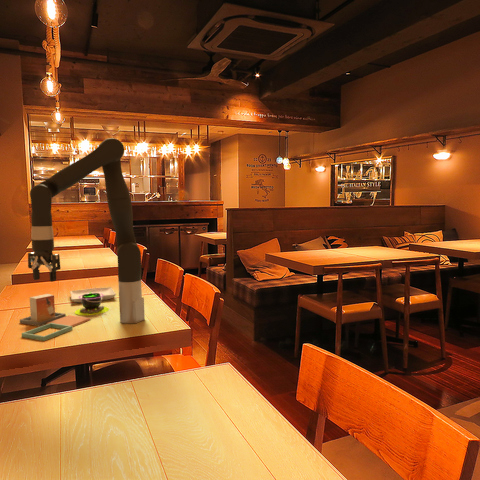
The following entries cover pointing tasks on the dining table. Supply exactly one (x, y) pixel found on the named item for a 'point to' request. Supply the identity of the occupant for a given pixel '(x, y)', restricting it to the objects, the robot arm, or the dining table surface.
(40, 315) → the small box
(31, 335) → the green rectangular frame
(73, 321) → the terracotta tile
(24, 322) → the grey rectangular frame
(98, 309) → the toy cauldron
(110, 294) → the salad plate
